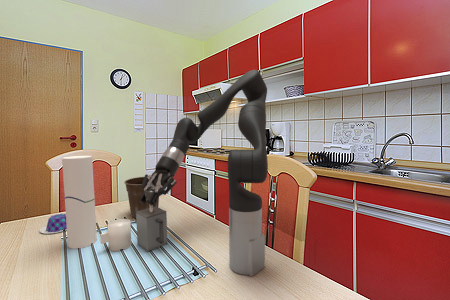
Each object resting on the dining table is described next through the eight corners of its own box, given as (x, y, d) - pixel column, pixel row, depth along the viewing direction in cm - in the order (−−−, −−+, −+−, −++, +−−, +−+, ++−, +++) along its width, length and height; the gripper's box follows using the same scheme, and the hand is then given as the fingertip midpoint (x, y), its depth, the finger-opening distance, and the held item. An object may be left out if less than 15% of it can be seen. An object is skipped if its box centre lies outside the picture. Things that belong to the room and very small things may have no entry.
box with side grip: (172, 246, 77) (171, 213, 76) (152, 255, 71) (151, 219, 70) (156, 237, 84) (155, 206, 83) (137, 244, 78) (136, 211, 77)
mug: (135, 245, 78) (134, 222, 77) (105, 256, 71) (104, 231, 70) (126, 239, 82) (125, 217, 82) (98, 248, 76) (96, 225, 75)
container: (83, 249, 75) (77, 158, 72) (61, 247, 77) (55, 158, 74) (102, 237, 83) (97, 155, 81) (82, 235, 85) (77, 155, 83)
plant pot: (156, 220, 99) (155, 184, 98) (119, 221, 99) (117, 184, 98) (166, 208, 115) (165, 176, 114) (134, 208, 115) (133, 176, 114)
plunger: (163, 236, 78) (161, 190, 77) (148, 241, 75) (147, 193, 73) (155, 231, 82) (153, 187, 81) (141, 236, 78) (139, 190, 77)
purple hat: (51, 237, 85) (50, 223, 84) (32, 232, 89) (31, 219, 89) (83, 225, 96) (82, 213, 95) (64, 221, 100) (63, 209, 100)
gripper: (190, 169, 84) (168, 212, 75) (161, 166, 91) (137, 205, 81) (180, 156, 79) (155, 200, 69) (150, 154, 86) (124, 194, 76)
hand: (146, 202), depth 75 cm, fingers closed on plunger, 3 cm apart
